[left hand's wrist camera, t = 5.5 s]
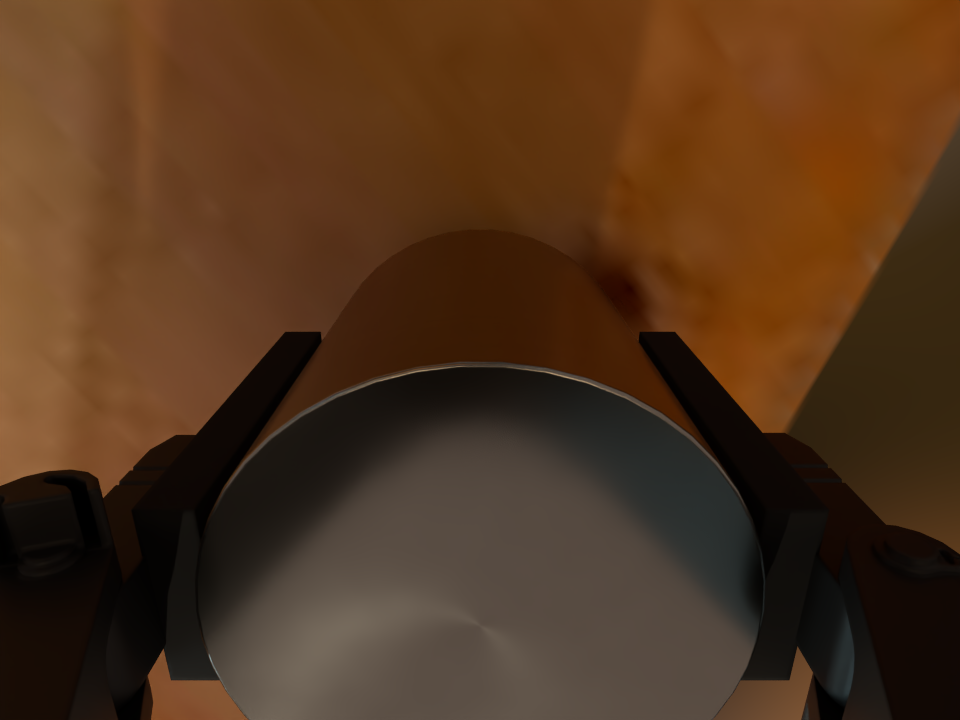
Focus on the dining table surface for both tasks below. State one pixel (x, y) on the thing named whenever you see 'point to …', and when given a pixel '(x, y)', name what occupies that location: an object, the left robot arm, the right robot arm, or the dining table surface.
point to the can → (480, 513)
